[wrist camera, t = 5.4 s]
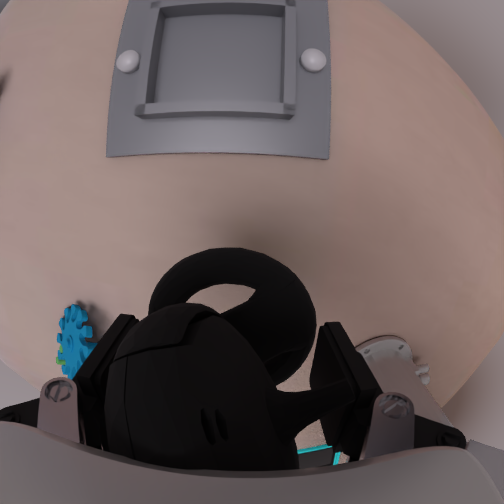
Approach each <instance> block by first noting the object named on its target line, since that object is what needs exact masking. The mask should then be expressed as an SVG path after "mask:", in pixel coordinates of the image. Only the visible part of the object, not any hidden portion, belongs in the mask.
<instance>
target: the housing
mask: <svg viewBox="0 0 504 504" xmlns="http://www.w3.org/2000/svg"><path fill="white" fill-rule="evenodd" d="M330 120H331V59H330V33H329V16H328V2H327V0H129V2H128V6H127V9H126V13H125V17H124V21H123V25H122V29H121V34H120V38H119V43H118V48H117V54H116V59H115V65H114V71H113V78H112V85H111V93H110V102H109V113H108V126H107V144H106V157H119V156H131V155H147V154H169V153H242V154H265V155H281V156H294V157H305V158H315V159H325V160H328V159H329V148H330Z"/></svg>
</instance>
